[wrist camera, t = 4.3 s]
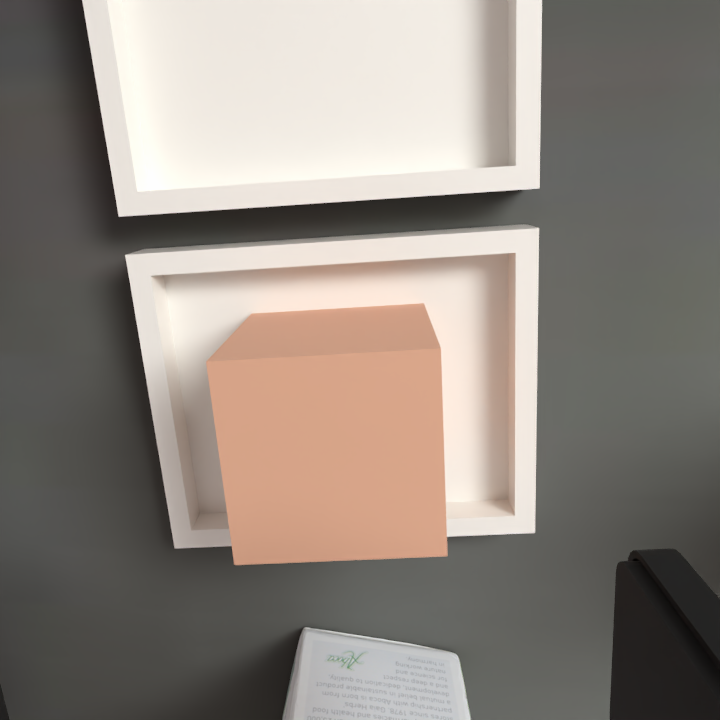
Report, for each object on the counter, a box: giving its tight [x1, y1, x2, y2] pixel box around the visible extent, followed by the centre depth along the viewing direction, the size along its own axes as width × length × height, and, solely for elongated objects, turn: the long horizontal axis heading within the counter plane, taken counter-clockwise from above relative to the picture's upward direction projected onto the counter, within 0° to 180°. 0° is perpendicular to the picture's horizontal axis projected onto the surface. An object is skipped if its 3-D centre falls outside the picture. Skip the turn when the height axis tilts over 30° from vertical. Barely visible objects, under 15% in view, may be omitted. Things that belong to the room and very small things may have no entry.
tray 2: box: [125, 224, 539, 548], centre depth 18 cm, size 9×11×2 cm
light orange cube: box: [206, 303, 447, 565], centre depth 16 cm, size 5×5×5 cm
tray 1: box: [82, 0, 542, 217], centre depth 16 cm, size 9×11×2 cm
